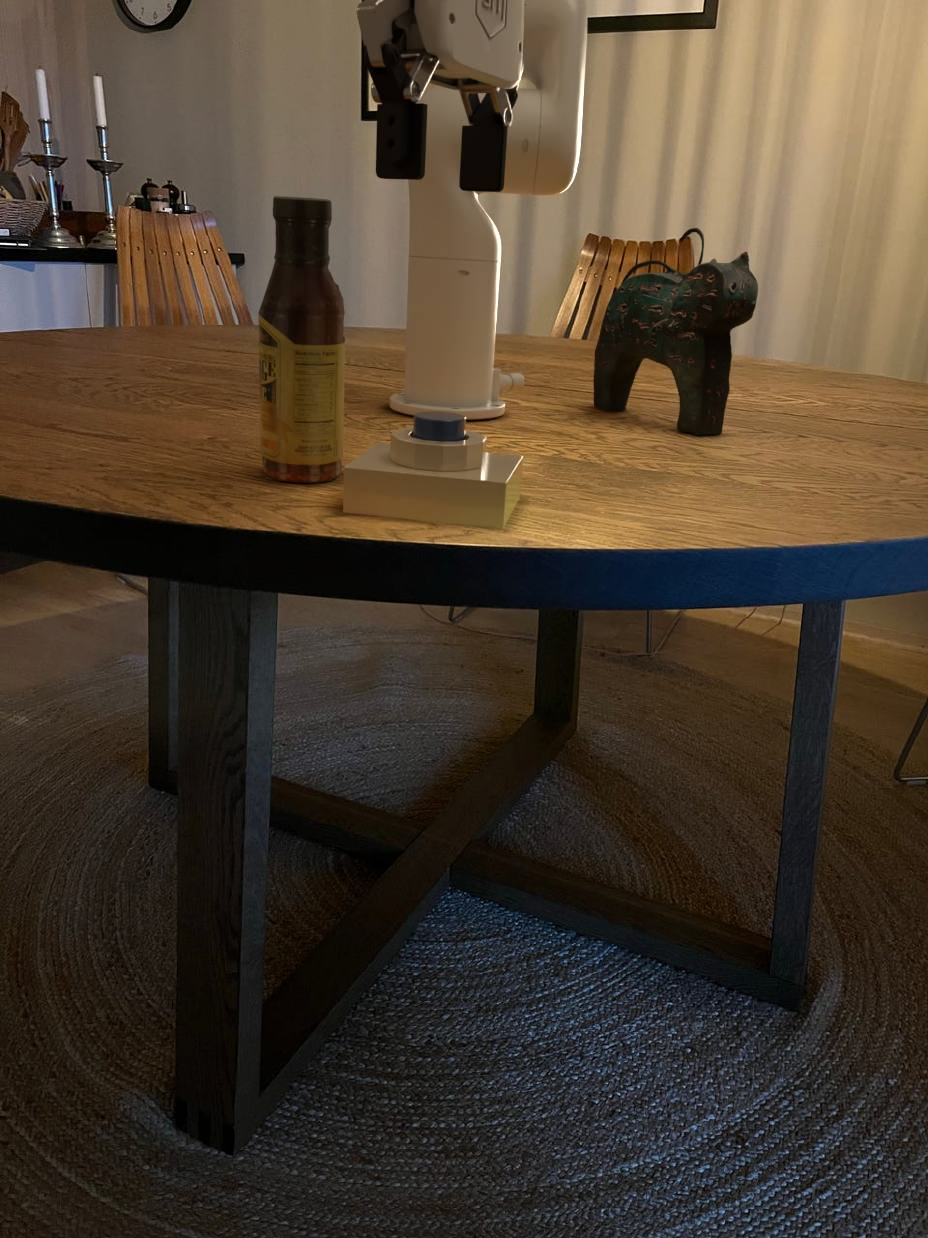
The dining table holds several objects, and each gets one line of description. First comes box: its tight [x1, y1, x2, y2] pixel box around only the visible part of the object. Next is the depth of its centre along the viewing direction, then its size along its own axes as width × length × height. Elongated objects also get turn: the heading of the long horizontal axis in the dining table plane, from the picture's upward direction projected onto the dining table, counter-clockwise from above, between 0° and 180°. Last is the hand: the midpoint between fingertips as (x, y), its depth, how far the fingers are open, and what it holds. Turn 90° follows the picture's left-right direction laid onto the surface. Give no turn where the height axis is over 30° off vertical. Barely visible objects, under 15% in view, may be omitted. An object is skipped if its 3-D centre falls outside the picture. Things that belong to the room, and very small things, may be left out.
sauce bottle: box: [257, 195, 346, 484], centre depth 73 cm, size 6×6×20 cm
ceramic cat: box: [592, 227, 759, 437], centre depth 106 cm, size 20×6×20 cm, turn 32°
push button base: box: [342, 426, 524, 530], centre depth 70 cm, size 9×11×5 cm
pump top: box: [412, 411, 467, 442], centre depth 69 cm, size 4×4×2 cm
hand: (443, 185), depth 63 cm, fingers open, 9 cm apart
